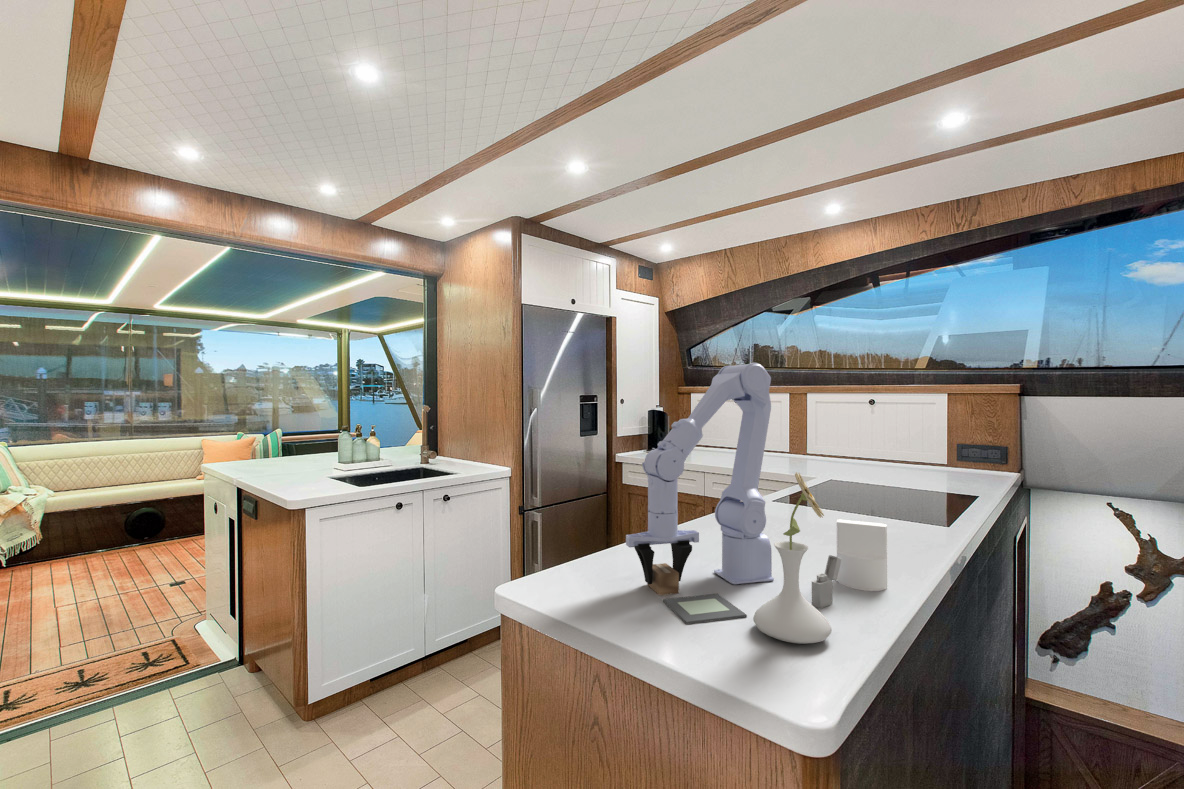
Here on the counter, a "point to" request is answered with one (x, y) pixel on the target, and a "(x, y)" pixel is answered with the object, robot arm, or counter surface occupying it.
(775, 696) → the counter surface
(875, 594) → the counter surface
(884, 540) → the cylinder with rectangular tab
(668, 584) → the cardboard box
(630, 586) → the counter surface
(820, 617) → the flower in vase
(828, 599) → the lighter
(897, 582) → the counter surface
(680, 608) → the mat
